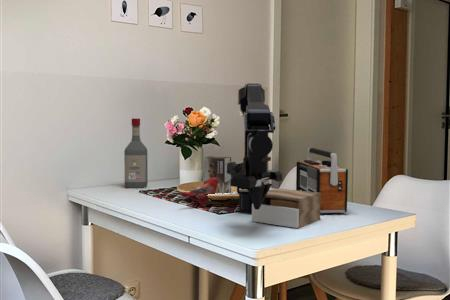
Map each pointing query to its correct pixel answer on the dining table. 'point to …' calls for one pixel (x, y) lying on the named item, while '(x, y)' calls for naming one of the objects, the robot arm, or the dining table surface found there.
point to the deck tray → (276, 215)
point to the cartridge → (284, 203)
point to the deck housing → (299, 203)
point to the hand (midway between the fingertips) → (256, 209)
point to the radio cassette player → (324, 181)
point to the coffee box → (217, 172)
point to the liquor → (135, 160)
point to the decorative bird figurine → (203, 191)
